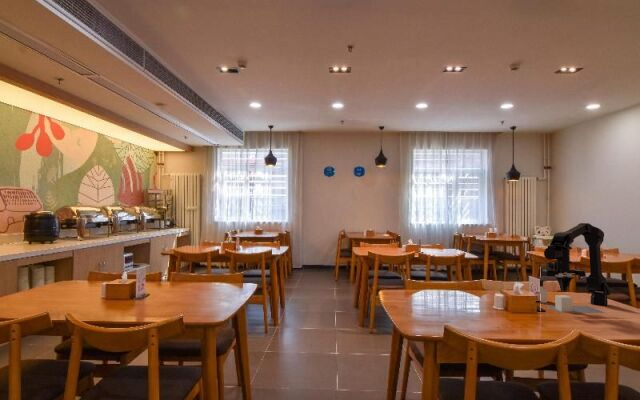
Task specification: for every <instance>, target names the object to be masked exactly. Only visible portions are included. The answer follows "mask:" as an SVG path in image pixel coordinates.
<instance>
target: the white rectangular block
mask: <svg viewBox="0 0 640 400" xmlns="http://www.w3.org/2000/svg"><path fill="white" fill-rule="evenodd" d="M554 296H555V297H554V300H555V304H554V306H555V309H557V310H560V311H573V309H572V306H573V296H569V295H566V294H565V295H563V294H561V295H560V294H559V295H558V294H557V295H554Z"/></svg>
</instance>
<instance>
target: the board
mask: <svg viewBox="0 0 640 400" xmlns="http://www.w3.org/2000/svg"><path fill="white" fill-rule="evenodd" d="M544 307H545V308H548V309H550V310H552V311H554V312H557V313H559V314H561V313H562V314H563V313H564V314H565V313H567V314H569V313H573V314H576V313H577V314H578V313H579V314H586V313H587V314H605V313H606V312H605V311H602V310H599V309H596V308H593V307H591V306H588V305H572V309H573V311H560V310H557V309H555V305H544Z"/></svg>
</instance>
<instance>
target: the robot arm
mask: <svg viewBox="0 0 640 400" xmlns="http://www.w3.org/2000/svg"><path fill="white" fill-rule="evenodd" d="M580 236H583V238H584V239H583V240H584V242H585V243H586V245H587V246H588V257H589V271H590V273H589V274H588V276H587V275H586V271H585V270H581V269H571V265H572V261H571V259H570V257H571V252H570V251H571V250H573V247H572V246H570V245H572V243H574V242H575V239H576V238H579V237H580ZM604 237H605V232H604V231H603V230H602V229H601V228H599V227H597V226H594V225H592V224H591V223H589V222H580V223H578V224H577V225H576V226H573V227H572V228H569V229H568V230H565V231H560V232H559V231H558V232H556V233H554V234H553V237H552V239H551V241H550V243H549V245H547V248H545V249H544V251H543V256H544V258H545V259H547V260H549V261H547V262H546V263H545V267H546V269H545V268H544V269H541V271H540V275H542V276H544V277H552V278H555V279H556V280H557V282H558V284H559V286H560V289H561V291H563V292H566V290H567V288H568V286H569V285H570V283H571V282H572V280H573V279H574V278H575V277H573V276H578V277H579V278H581V277H582V278H585V279H586V280H585V281H586V288H587V292H588V293H590V305H593V306H597V307H610V305H609V304H608V303H609V302H608V296H610V295H611V293H612V289H611V288H610V287H609V285H608V282H607V279H606V277H605V276H604V275H603V274H602V273H603V272H602V257H601V256H602V255H601V253H602V252H601V245H602V244H603V243H604ZM553 260H554V262H553V263H552V262H550V261H553Z"/></svg>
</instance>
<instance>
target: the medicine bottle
mask: <svg viewBox="0 0 640 400" xmlns="http://www.w3.org/2000/svg"><path fill="white" fill-rule="evenodd" d="M538 279H539V278H538ZM539 280H540V293H541V302H540V303H547V302H548V299H547V298H548V295H547V294H548V291H547V289H545V288H544V280H543V279H539Z"/></svg>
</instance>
